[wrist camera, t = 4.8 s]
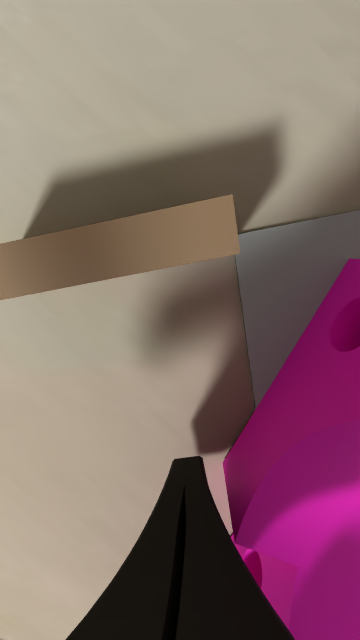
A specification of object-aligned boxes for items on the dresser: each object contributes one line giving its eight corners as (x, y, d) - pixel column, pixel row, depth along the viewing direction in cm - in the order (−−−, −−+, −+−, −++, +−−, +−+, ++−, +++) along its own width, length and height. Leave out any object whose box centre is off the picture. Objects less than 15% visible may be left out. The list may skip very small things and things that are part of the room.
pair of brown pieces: (220, 208, 10) (232, 193, 7) (276, 599, 15) (295, 682, 12) (15, 251, 10) (-51, 255, 8) (139, 609, 16) (128, 690, 13)
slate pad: (443, 193, 10) (460, 189, 9) (420, 563, 15) (430, 576, 14) (230, 235, 10) (232, 235, 10) (276, 575, 15) (280, 588, 15)
